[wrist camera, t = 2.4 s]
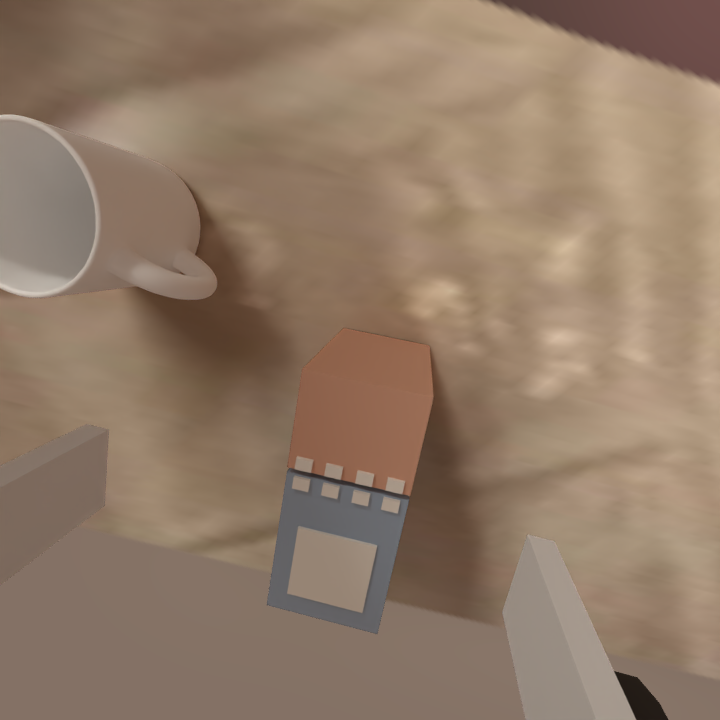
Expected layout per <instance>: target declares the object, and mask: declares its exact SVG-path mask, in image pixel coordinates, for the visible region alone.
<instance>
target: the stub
mask: <svg viewBox="0 0 720 720" xmlns="http://www.w3.org/2000/svg"><path fill="white" fill-rule="evenodd" d="M433 398H434V394H433V382H432V370H431V358H430V346H429V345H424V344H419V343H414V342H410V341H405V340H400V339H395V338H390V337H385V336H380V335H375V334H370V333H366V332H361V331H356V330H351V329H346V328H343V329H342V330H341V331H340V332H339V333H338V334H337V335H336V336H335V337H334V338H333V339H332V340H331V341H330V342H329V343H328V344H327V345H326V346H325V347H324V348H323V349H322V350H321V351H320V352H319V353H318V354H317V355H316V356H315V357H314V358H313V359H312V360H311V361H310V362H309V363H308V364H307V365H306V366H305V367H304V368H303V369H302V374H301V380H300V387H299V394H298V400H297V407H296V413H295V420H294V426H293V433H292V440H291V446H290V453H289V459H288V466H287V467H289V468H293V469H296V470H300V471H304V472H309V473H314V474H319V475H323V476H326V477H330V478H334V479H338V480H344V481H348V482H353V483H355V484H360V485H364V486H368V487H374V488H378V489H383V490H385V491H390V492H394V493H398V494H404V495H408V496H410V495H411V491H412V487H413V483H414V478H415V474H416V470H417V466H418V462H419V457H420V453H421V449H422V445H423V440H424V436H425V432H426V428H427V424H428V419H429V415H430V411H431V407H432V403H433Z"/></svg>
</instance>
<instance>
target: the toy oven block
mask: <svg viewBox="0 0 720 720" xmlns="http://www.w3.org/2000/svg"><path fill="white" fill-rule="evenodd" d="M408 503H409V496H408V495H404V494H398V493H394V492H390V491H385V490H383V489H378V488H374V487H368V486H364V485H360V484H355V483H353V482H348V481H344V480H338V479H334V478H330V477H326V476H323V475H319V474H314V473H309V472H304V471H300V470H296V469H293V468H289V469H288V471H287V475H286V482H285V489H284V495H283V502H282V508H281V515H280V521H279V528H278V535H277V541H276V548H275V554H274V561H273V567H272V574H271V580H270V587H269V594H268V601H267V605H269V606H272V607H276V608H280V609H284V610H288V611H292V612H296V613H299V614H303V615H307V616H310V617H315V618H318V619H322V620H326V621H330V622H334V623H338V624H341V625H345V626H349V627H353V628H356V629H360V630H364V631H368V632H372V633H375V634H377V633H378V629H379V625H380V621H381V617H382V612H383V608H384V604H385V600H386V596H387V591H388V587H389V583H390V579H391V574H392V570H393V566H394V562H395V558H396V553H397V549H398V545H399V541H400V536H401V532H402V528H403V524H404V520H405V515H406V511H407V507H408Z"/></svg>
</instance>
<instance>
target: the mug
mask: <svg viewBox="0 0 720 720" xmlns="http://www.w3.org/2000/svg"><path fill="white" fill-rule="evenodd" d="M200 229H201V226H200V217H199V212H198V208H197V205H196V202H195V200H194V198H193V195H192V194H191V192H190V190H189V189H188V187H187V186H186V184H185V183H184V182H183V181H182V180H181V179H180V178H179V176H178V175H176V174H175V173H174V172H173V171H172V170H170V169H169V168H167V167H166V166H164V165H162V164H161V163H158V162H156V161H154V160H152V159H149V158H147V157H144V156H141V155H138V154H135V153H132V152H129V151H126V150H123V149H120V148H117V147H114V146H112V145H109V144H106V143H103V142H100V141H97V140H94V139H91V138H88V137H85V136H82V135H79V134H76V133H73V132H70V131H67V130H64V129H61V128H58V127H55V126H53V125H50V124H47V123H44V122H41V121H38V120H35V119H32V118H28V117H25V116H20V115H12V114H9V115H0V288H1V289H3V290H5V291H7V292H9V293H12V294H16V295H19V296H22V297H28V298H47V297H55V296H63V295H71V294H79V293H87V292H95V291H103V290H111V289H119V288H127V287H135V286H137V287H140V288H142V289H145V290H147V291H150V292H153V293H156V294H159V295H162V296H166V297H170V298H176V299H183V300H200V299H204V298H207V297H209V296H211V295H212V294H213V293H214V292H215V291H216V288H217V278H216V276H215V274H214V272H213V271H212V270H211V268H210V267H209V266H208V265H207V264H206V263H205V262H203V261H202V260H201V259H200V258H198V257H197V256H196V255H195V253H196V251H197V247H198V244H199V239H200ZM181 272H182V273H183V274H185V275H182V274H179V273H181Z"/></svg>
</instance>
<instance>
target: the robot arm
mask: <svg viewBox="0 0 720 720" xmlns="http://www.w3.org/2000/svg"><path fill="white" fill-rule="evenodd" d="M108 437H109V429H105V428H101V427H97V426H93V425H89V424H86V425H84V426H82V427H80V428H77V429H75V430H73V431H71V432H69V433H67V434H65V435H63V436H61V437H59V438H57V439H55V440H53V441H51V442H48V443H46V444H44V445H42V446H40V447H38V448H36V449H34V450H32V451H30V452H28V453H26V454H24V455H22V456H19V457H17V458H15V459H13V460H11V461H9V462H7V463H5V464H3V465H1V466H0V585H2V584H3V583H4V582H6V581H7V580H8V579H9V578H11V577H12V576H13V575H14V574H16V573H17V572H19V571H20V570H21V569H22V568H24V567H25V566H26V565H28V564H29V563H30V562H32V561H33V560H34V559H35V558H37V557H38V556H39V555H41V554H42V553H43V552H45V551H46V550H47V549H49V548H50V547H51V546H53V545H54V544H55V543H56V542H58V541H59V540H60V539H62V538H63V537H64V536H66V535H67V534H68V533H70V532H71V531H72V530H73V529H75V528H76V527H77V526H79V525H80V524H81V523H83V522H84V521H85V520H87V519H88V518H89V517H91V516H92V515H93V514H94V513H96V512H97V511H98V510H100V509H101V508H102V507H104V506H105V492H106V473H107V455H108ZM502 614H503V619H504V623H505V628H506V632H507V637H508V642H509V646H510V651H511V655H512V660H513V664H514V669H515V674H516V678H517V683H518V688H519V692H520V697H521V702H522V706H523V711H524V715H525V720H668V718H667V716H666V715H665V713H664V711H663V709H662V707H661V705H660V704H659V702H658V701H657V700H656V699H655V697H654V696H653V695H652V694H651V693H650V692H649V690H648V689H647V688H646V687H645V686H644V685H643V684H642V682H641V681H640V680H639V679H638V678H637V677H634V676H630V675H626V674H623V673H619V672H615V671H614V670H613V668H612V666H611V664H610V662H609V659H608V657H607V655H606V653H605V650H604V648H603V646H602V644H601V642H600V640H599V637H598V635H597V633H596V631H595V629H594V626H593V624H592V622H591V620H590V618H589V616H588V613H587V611H586V609H585V607H584V605H583V602H582V600H581V598H580V596H579V594H578V591H577V589H576V587H575V585H574V583H573V581H572V578H571V576H570V574H569V572H568V570H567V567H566V565H565V563H564V561H563V559H562V557H561V554H560V552H559V550H558V548H557V546H556V543H555V541H552V540H548V539H544V538H540V537H536V536H532V535H528V534H527V537H526V540H525V543H524V546H523V549H522V553H521V556H520V559H519V562H518V565H517V568H516V571H515V574H514V577H513V580H512V583H511V587H510V590H509V593H508V596H507V599H506V602H505V605H504V608H503V611H502Z"/></svg>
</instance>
